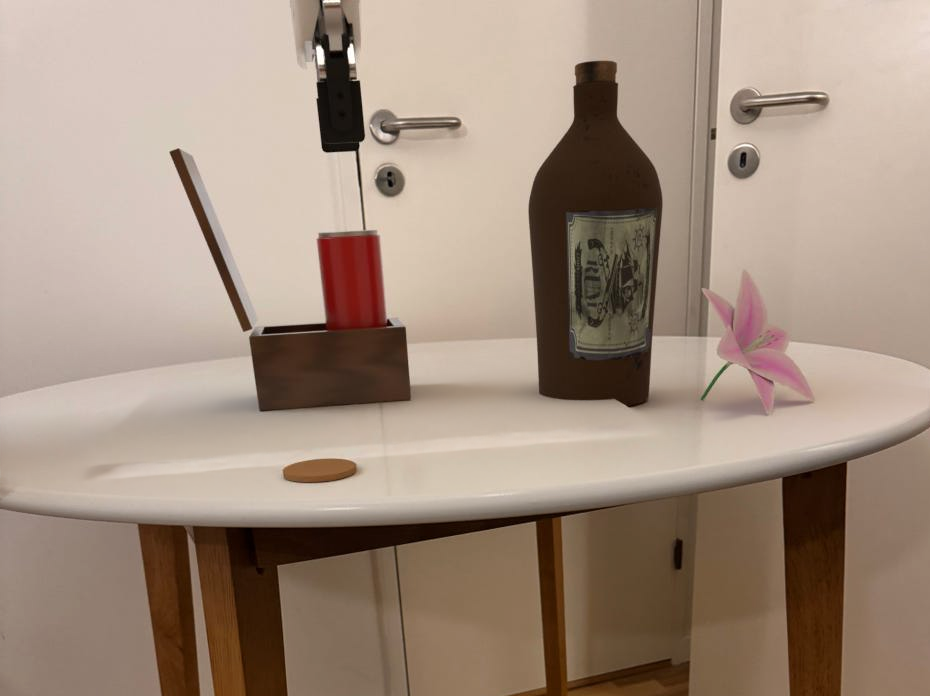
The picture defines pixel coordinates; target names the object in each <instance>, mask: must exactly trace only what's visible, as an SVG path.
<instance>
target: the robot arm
mask: <svg viewBox="0 0 930 696" xmlns="http://www.w3.org/2000/svg"><path fill="white" fill-rule="evenodd" d="M289 4H290V5H289V6H290V12H291V22H292V28H293V29H292V30H293V32H292V33H293V38H294V46H295V55H296V61H297V65H298V66H299V67H300V68H301V69H302V70H307V63H313V62H314V64H315V65H314V66H315V71H316V73H315V74H316V83H315V84H316V91H317V97H316V108H317V117H318V126H319V128H318V129H319V136H320V145H321V150H322V152H324V153H325V154H328V153H348V152H350V153H351V152H357V151H359V149H360V147H361V145H360V143H363V142H364V140H365V139H366V130H365V129H366V128H365V120H364V108H363V101H362V100H363V98H362V87H361V80H360V79H359V80H357V79H358V75H357V74H358V72H357V63H358V62H359V59H360V55H361V50H362V6H361V0H289Z"/></svg>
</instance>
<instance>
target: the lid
mask: <svg viewBox="0 0 930 696" xmlns="http://www.w3.org/2000/svg"><path fill="white" fill-rule="evenodd" d="M169 155H170V158H171V160H172V162H173V164H174V167H175V169H176V173H177V174H178V177H179V179H180V182H181V184H182V187H183V189H184V192H185V194H186V196H187V199H188V201H189V204H190V206H191V208H192V211H193V214H194V216H195V218H196V221H197V223H198V225H199V228H200V231H201V233H202V235H203V238H204V240H205V243H206V245H207V248H208V250H209V253H210V254H211V257H212V260H213V263H214V265H215V267H216V269H217V272H218V274H219V277H220V279H221V281H222V284H223V286H224V289H225V291H226V294H227V296H228V298H229V301H230V303H231V306H232V308H233V311H234V313H235V316H236V318H237V320H238V322H239V325H240V328H241V331H242V332H243V333H245V332H248V331H251V330H253V329H254V328H255V325H256V324H257V322H258V320H259V317H258V315H257V313H256V310H255V308H254V305H253V302H252V301H251V298H250V296H249V293H248V290H247V288H246V286H245V282H244V281H243V278H242V276H241V273H240V270H239V268H238V266H237V263H236V261H235V258H234V255H233V253H232V251H231V248H230V246H229V243H228V241H227V239H226V235H225V233H224V231H223V228H222V226H221V223H220V220H219V218H218V216H217V213H216V211H215V208H214V206H213V204H212V201H211V199H210V196H209V193H208V191H207V189H206V187H205V184H204V180H203V179H202V176H201V173H200V171H199V169H198V165H197V164H196V162H195V159H194V156H193V155H191V154H190V153H188V152H187V151H184V150H183V149H181V148H176V149H172V150H170V151H169Z"/></svg>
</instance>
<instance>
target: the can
mask: <svg viewBox="0 0 930 696" xmlns="http://www.w3.org/2000/svg"><path fill="white" fill-rule="evenodd" d="M317 235H318V237H317V238H316V248H317V249H316V250H317V258H318V259H317V260H318V267H319V277H320V285H321V286H320V287H321V295H322V304H323V313H324V314H323V315H324V322H325V324H326V331H327V330H343V329H359V328H374V327H388V325H387V318H388V314H387V303H386V302H387V301H386V291H385V278H384V277H385V276H384V265H383V254H382V253H383V252H382V242H381V241H382V240H381V235H380V234H378V229H363V230H346V231H345V230H344V231H343V230H342V231H325V232H317Z"/></svg>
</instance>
